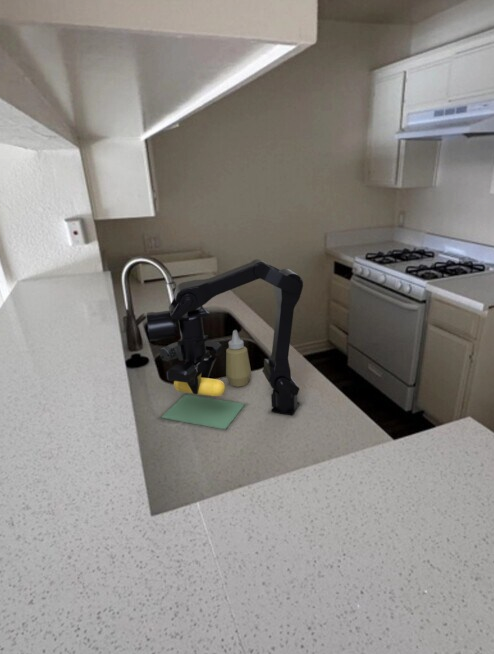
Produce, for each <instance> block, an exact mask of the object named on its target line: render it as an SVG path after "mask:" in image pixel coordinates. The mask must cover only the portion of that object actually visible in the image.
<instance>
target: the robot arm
mask: <svg viewBox="0 0 494 654" xmlns="http://www.w3.org/2000/svg"><path fill="white" fill-rule="evenodd" d="M257 280H261V281H264V282H266V283H268V284H270V285H272V286H273V292H274V296H275V300H276V309H275V319H274V329H273V338H272V339H273V340H272V349H271V354H270V356H269V358H263V368H262V370H261V372H262V373H263V375H264V377H265V379H266V380H267V383H269V385H270V388H271V389H272V392H271V394H270V397H271V398H270V400H271V407H272V408H271V410H270V411H271V413H274V414H280V415H281V414H282V415H288V416H294V414H295V413H296V412H297V409H298V408H299V405H300V402H299V401H298V395H299V392H300V387H299V386H298V384H297V383H296V381H295V380H294V378H292V373H291V372H292V371H291V367H290V362H289V352H290V345H291V337H292V329H293V319H294V312H295V308H296V306H297V305H298V302H299V301H300V298H301V295H302V292H303V288H304V281H303V279H302V278H301V276H300V275H299V274H297V273H296V272H294V271H293V270H291V269H289V268H282V269H280V268H277V267H276V266H273V265H272V264H268V263H266V262H265V261H263V260H261V259H259V258H256V259H252V261H250V262H248V263H245V264H243V265H240V266H238V267H235V268H233V269H230V270H227V271H224V272H222V273H219V274H217V275H215V276H212V277H209V278H204V279H194V280H189V281H188V280H187V281H184V282H181V283H179V284H177V285H176V286H175V289H174V291H173V292H174V293H173V295H174V298H173V299H172V301H171V302H170V304H169V306H168V310H163V311H149V312H146V313H145V315H146V321H147V333H148V339H149V342H155V341H162V340H168V339H174V337H176V334H178V327H179V334H180V339H178V340H177V341H175V342H172V343H170V344H168V345H166V346H162V347H161V348H159V356H160V359H161V360H162V361H163V362H164V361H166V362H171V361H172V360H176V359H178V361H180V362H181V361H182V362H184V361H185V362H184V363H179V362H176V363H175V364H174V365H172V366H171V367H169V369H168V370H167V371H166V377H167V378H166V379H167V380H168V381H170V382H174V381H178V382H186V383H188V385H189V387H190V389H191V390H192V392H193V393H192V394H194V395H199V394H198V391H199V386H200V380H201V377H202V378H210V375H211V372H212V369H213V367H214V364H215V362H216V361H217V357H216V356H219V355H220V354H221V353H222V352H223V346H222V344H221V343H220V342H219V341H212V340H208V339H209V335H207V334H205V331H204V329H205V328H204V323H203V318H207V317H208V318H209V317H210V316H211V314H210V312H209V310H208V309H207V308H205V307H204V305H206V304H207V303H208V302H209V301H210V300H212V299H214V298H215V297H216V296H219V295H221V294H224V293H227V292H229V291H232V290H234V289H236V288H239V287H241V286H244V285H247V284H249V283H252V282H254V281H257ZM177 322H178V327H177ZM211 352H213V353H214V355H215V356H212V354H211Z"/></svg>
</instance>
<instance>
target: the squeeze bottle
mask: <svg viewBox="0 0 494 654" xmlns="http://www.w3.org/2000/svg"><path fill="white" fill-rule="evenodd" d="M244 345H245V343H244V340H243V339H240V335H239V332H238V330H237V329H234V330H232V336H231V340H229V341H228V348H226V350H225V351H226V356H225V357H226V358H225V376H226V379H228V381H229V382H228V383H229V384H230V385H231V386H232V387H238V388H240V387H244V386H247V385H248V384H249V382H250V378H251V375H252V370H251V369H252V368H251V364H250V358H249V352H248V348H247V347H246V346H244Z"/></svg>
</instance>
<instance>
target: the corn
mask: <svg viewBox="0 0 494 654" xmlns="http://www.w3.org/2000/svg"><path fill="white" fill-rule="evenodd" d="M173 387H174V388H175V390H176V391H178V392H181V393H186V394H193V392H192V390H191V389H190V387H189V385H188V383H186V382H178V381H173ZM225 391H226V384H225V383H224V382H223V381H222V380H220V379H217V378H210V377H209V378H202V377H201V380H200V386H199V391H198V394H197V395H203V396H208V397H209V396H210V397H221V396H222V395H223V394H224V393H225Z"/></svg>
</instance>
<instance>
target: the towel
mask: <svg viewBox="0 0 494 654" xmlns="http://www.w3.org/2000/svg"><path fill="white" fill-rule="evenodd" d="M245 405H246V403H242V402H235V401H231V400H230V401H229V400H223V399H217V398H211V397H204V396H200V395H199V396H198V395H191V394H187V393H186V394H184V395H183V396H182V397H181V398H180V399H178V401H177V402H175V404H174V405H172V406H171V407H170V408H169V409H168V410H167V411H166V412H165V413H164V414H163V415H161V419H166V420H169V421H177V422H181V423H188V424H193V425H197V426H198V425H199V426H204V427H209V428H215V429H221V430H225V431H226V430H227V429H228V428H229V427H230V425H231V424H232V422H233V421H234V420H235V418H236V417H237V416H238V414H240V412H241V411H242V409H243V408H244V407H245Z"/></svg>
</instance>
